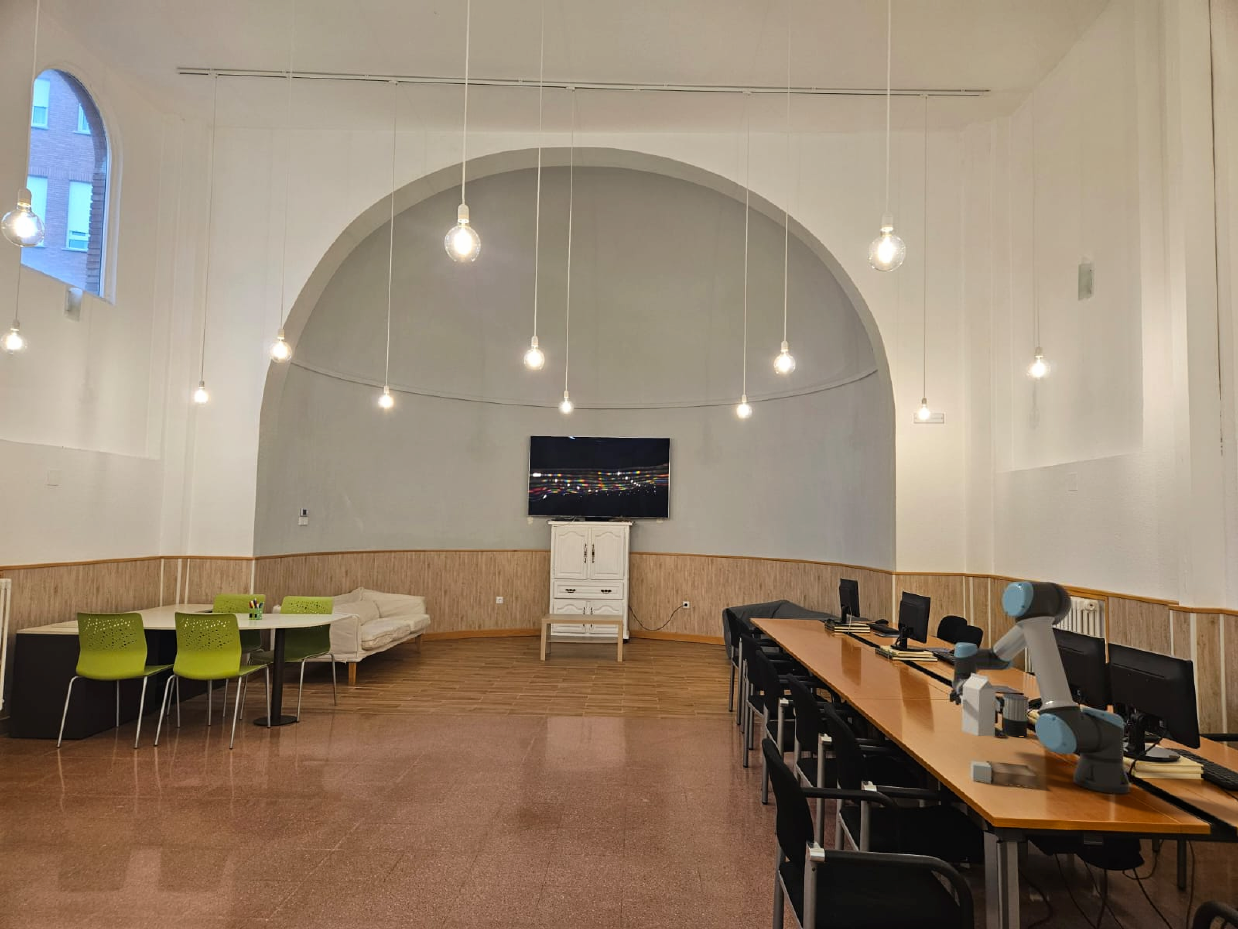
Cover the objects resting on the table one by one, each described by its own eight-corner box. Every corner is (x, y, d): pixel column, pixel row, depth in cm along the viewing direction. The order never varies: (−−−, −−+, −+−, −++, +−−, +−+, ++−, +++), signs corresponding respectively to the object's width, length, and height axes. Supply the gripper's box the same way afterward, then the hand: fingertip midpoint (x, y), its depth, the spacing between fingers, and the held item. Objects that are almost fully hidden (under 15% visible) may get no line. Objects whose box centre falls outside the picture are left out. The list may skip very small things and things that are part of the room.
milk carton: (978, 736, 267) (979, 677, 269) (961, 731, 274) (963, 673, 275) (994, 735, 270) (996, 676, 271) (978, 730, 277) (979, 672, 278)
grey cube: (987, 779, 259) (987, 762, 259) (990, 783, 254) (990, 767, 255) (970, 777, 260) (970, 760, 261) (973, 781, 256) (973, 765, 256)
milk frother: (1029, 734, 322) (1030, 696, 323) (1025, 743, 308) (1026, 702, 309) (989, 728, 329) (990, 690, 330) (984, 736, 315) (984, 696, 316)
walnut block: (1026, 778, 263) (1027, 765, 263) (1036, 789, 252) (1036, 776, 252) (986, 773, 266) (986, 761, 266) (993, 784, 254) (994, 771, 255)
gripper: (1003, 706, 287) (1018, 720, 266) (935, 699, 293) (944, 713, 271) (1004, 684, 288) (1018, 697, 266) (935, 678, 293) (944, 690, 271)
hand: (981, 705), depth 268 cm, fingers closed on milk carton, 10 cm apart
